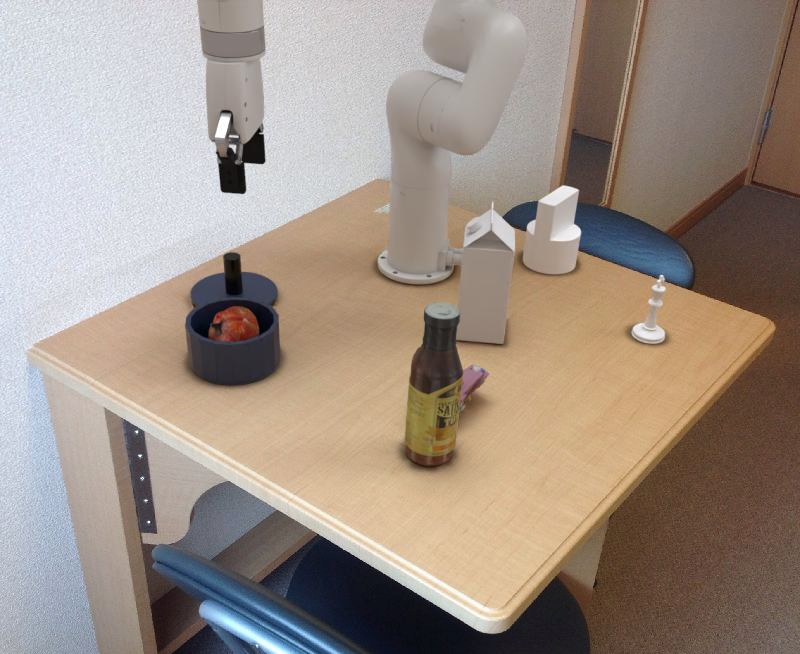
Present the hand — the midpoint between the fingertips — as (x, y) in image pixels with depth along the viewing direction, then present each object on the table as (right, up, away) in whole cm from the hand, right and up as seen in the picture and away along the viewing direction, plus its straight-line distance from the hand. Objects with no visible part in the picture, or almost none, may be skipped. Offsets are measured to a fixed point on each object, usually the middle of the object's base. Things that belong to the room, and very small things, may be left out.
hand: (244, 177), depth 120 cm
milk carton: (+32, -19, +17) cm, 41 cm away
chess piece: (+57, -19, +18) cm, 63 cm away
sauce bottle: (+24, -36, -7) cm, 43 cm away
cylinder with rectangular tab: (+46, -6, +37) cm, 59 cm away
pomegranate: (-2, -23, +9) cm, 24 cm away
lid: (-5, -13, +22) cm, 26 cm away
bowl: (-3, -23, +8) cm, 25 cm away
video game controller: (+27, -30, +1) cm, 41 cm away
